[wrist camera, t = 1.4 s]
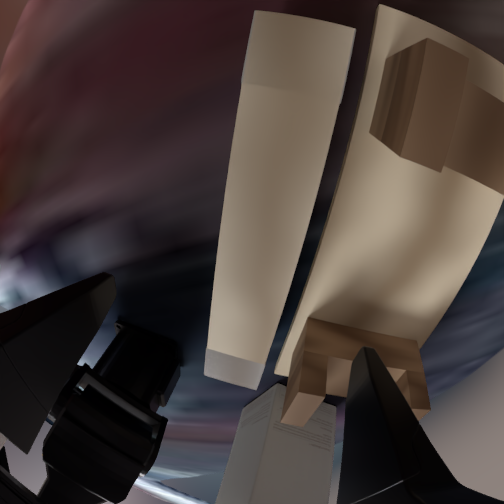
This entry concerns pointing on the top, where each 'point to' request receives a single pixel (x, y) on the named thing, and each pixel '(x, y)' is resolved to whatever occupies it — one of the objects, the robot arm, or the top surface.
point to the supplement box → (279, 455)
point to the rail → (272, 182)
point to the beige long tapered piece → (400, 212)
